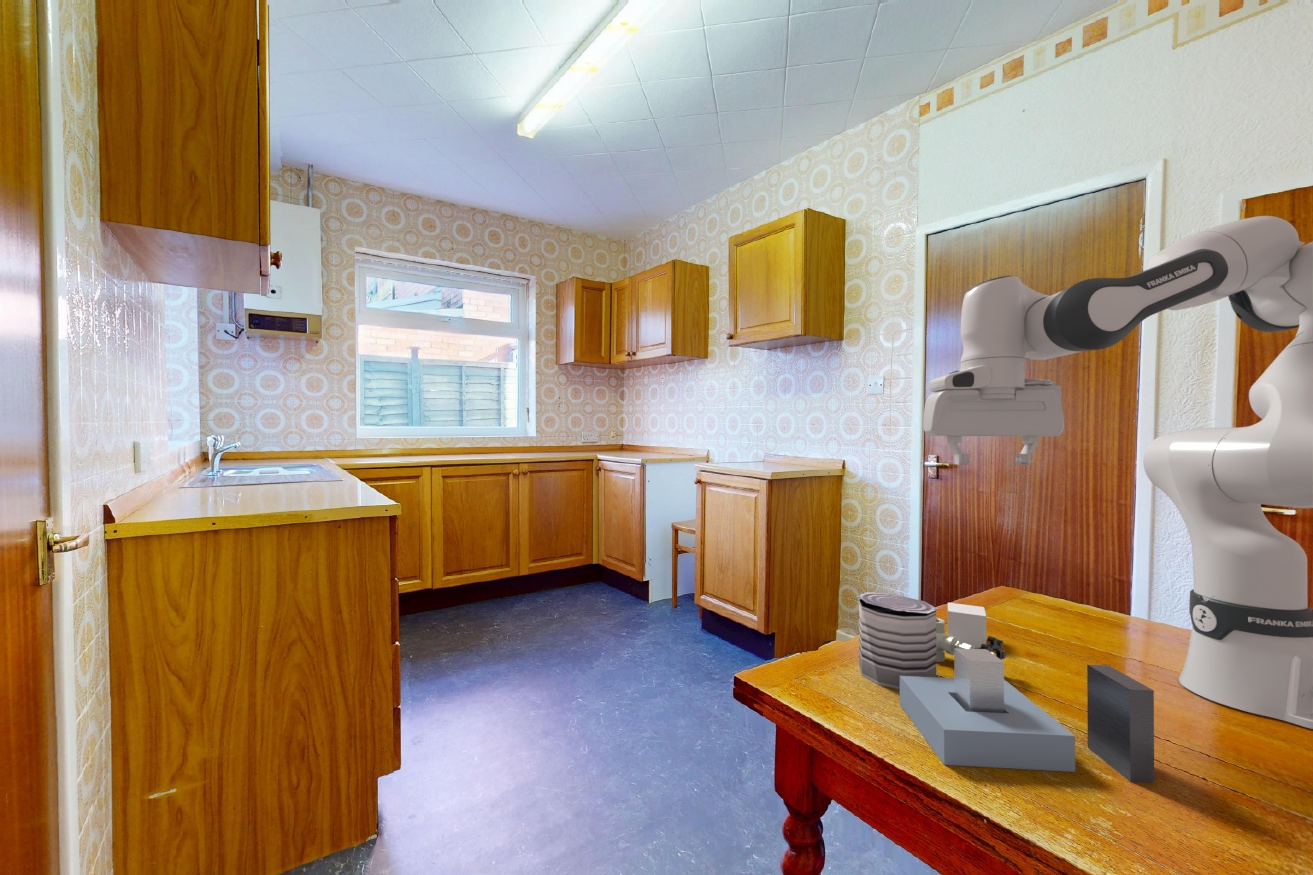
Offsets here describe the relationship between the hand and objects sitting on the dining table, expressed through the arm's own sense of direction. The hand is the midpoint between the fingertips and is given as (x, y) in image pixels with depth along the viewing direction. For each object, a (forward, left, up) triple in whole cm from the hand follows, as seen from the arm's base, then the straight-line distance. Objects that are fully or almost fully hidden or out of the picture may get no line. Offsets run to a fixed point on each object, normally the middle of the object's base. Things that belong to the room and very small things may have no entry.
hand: (992, 464), depth 86 cm
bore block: (+12, +20, -33) cm, 40 cm away
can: (+16, +3, -33) cm, 37 cm away
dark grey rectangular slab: (-1, +25, -33) cm, 42 cm away
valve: (+5, -1, -34) cm, 34 cm away
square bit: (+12, +20, -33) cm, 40 cm away
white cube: (-2, -13, -33) cm, 36 cm away
